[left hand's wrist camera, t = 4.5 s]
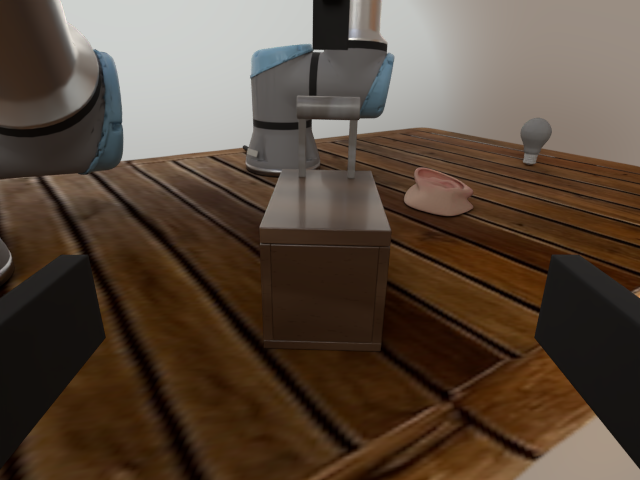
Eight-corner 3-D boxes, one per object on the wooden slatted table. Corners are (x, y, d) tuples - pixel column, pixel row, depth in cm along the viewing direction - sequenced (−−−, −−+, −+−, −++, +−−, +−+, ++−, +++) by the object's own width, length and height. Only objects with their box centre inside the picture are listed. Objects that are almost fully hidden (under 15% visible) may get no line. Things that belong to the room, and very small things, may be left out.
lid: (282, 180, 48) (281, 92, 44) (370, 182, 48) (376, 94, 44) (259, 243, 32) (254, 116, 29) (390, 246, 32) (402, 119, 29)
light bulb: (518, 166, 94) (528, 119, 90) (511, 160, 100) (520, 115, 96) (547, 168, 94) (558, 120, 90) (539, 161, 99) (549, 116, 95)
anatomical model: (471, 194, 62) (394, 183, 67) (467, 220, 64) (391, 207, 68) (482, 173, 73) (414, 164, 78) (478, 195, 75) (412, 186, 79)
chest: (283, 260, 51) (281, 182, 47) (365, 262, 51) (370, 184, 47) (264, 348, 36) (259, 244, 32) (380, 351, 36) (390, 247, 32)
